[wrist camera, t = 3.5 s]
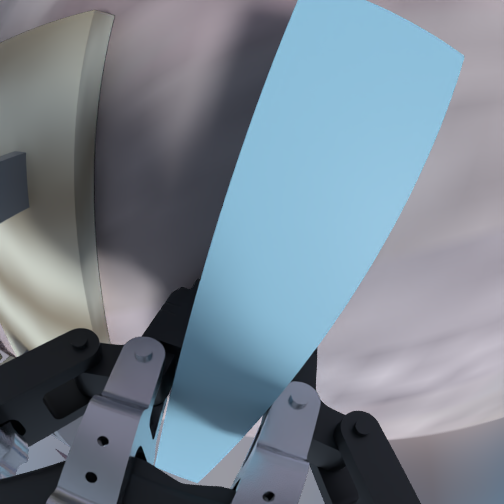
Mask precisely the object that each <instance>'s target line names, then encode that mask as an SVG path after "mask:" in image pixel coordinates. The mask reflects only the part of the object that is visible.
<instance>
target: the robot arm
mask: <svg viewBox="0 0 504 504" xmlns="http://www.w3.org/2000/svg"><path fill="white" fill-rule="evenodd" d="M200 280H201V279H197V281H196V282H195V284H194V285H193V287H192V288H191V290H190V289H187V288H184V287H181V288H180V289H178V290H176V291H174V292H173V293H172V294H171V295H170V296H169V298H168V299H167V301H166V303H165V304H164V305H163V306H162V308H161V310H160V311H159V312H158V314H157V315H156V316H155V318H154V319H153V321H152V322H151V324H150V325H149V327H148V328H147V330H146V331H145V332H144V334H143V335H142V337H135V338H133V339H131V340H129V341H128V342H127V343H126V344H125V345H114V344H107V343H100V341H99V338H98V336H97V335H96V334H95V333H94V332H93V331H91V330H89V329H86V328H76V329H73V330H70V331H68V332H66V333H64V334H62V335H60V336H58V337H56V338H54V339H52V340H50V341H48V342H46V343H44V344H42V345H40V346H38V347H36V348H34V349H32V350H30V351H28V352H26V353H24V354H22V355H20V356H18V357H16V358H14V359H12V360H10V361H8V362H6V363H4V364H2V365H0V504H298V502H299V499H300V496H301V493H302V490H303V487H304V484H305V481H306V477H307V474H308V470H309V465H310V467H311V470H312V473H313V475H314V477H315V480H316V482H317V485H318V487H319V490H320V493H321V495H322V497H323V500H324V502H325V504H421V503H420V501H419V499H418V497H417V495H416V493H415V491H414V489H413V487H412V485H411V484H410V482H409V480H408V478H407V476H406V474H405V472H404V470H403V468H402V467H401V464H400V462H399V460H398V459H397V457H396V455H395V453H394V451H393V449H392V447H391V445H390V444H389V442H388V440H387V438H386V436H385V434H384V432H383V431H382V429H381V427H380V425H379V423H378V422H377V420H376V419H375V418H374V417H373V416H372V415H370V414H369V413H366V412H363V411H353V412H350V413H348V414H347V415H344V414H342V413H340V412H337V411H335V410H333V409H331V408H329V407H328V406H326V405H325V404H324V403H323V402H322V401H321V400H320V397H319V395H318V393H317V392H316V371H317V348H316V349H315V350H314V352H313V353H312V355H311V356H310V357H309V359H308V360H307V361H306V363H305V364H304V365H303V366H302V368H301V369H300V370H299V372H298V373H297V374H296V375H295V377H294V378H293V379H292V381H291V382H290V383H289V384H288V386H287V387H286V388H285V389H284V391H283V392H282V393H281V394H280V395H279V397H278V398H277V399H276V400H275V401H274V403H273V404H272V405H271V406H270V407H269V409H268V410H267V411H266V412H265V413H264V414H263V417H262V421H261V425H260V426H259V428H258V430H257V433H256V435H255V437H254V440H253V442H252V444H251V446H250V449H249V451H248V453H247V455H246V458H245V460H244V462H243V464H242V467H241V469H240V471H239V473H238V474H237V476H236V478H235V480H234V482H233V484H232V486H231V488H230V489H229V488H224V487H219V486H202V485H190V484H183V483H180V482H178V481H176V480H175V479H173V478H171V477H170V476H168V475H167V474H165V473H164V472H162V471H161V470H159V469H158V468H156V467H155V466H153V463H154V457H155V445H156V440H157V436H158V432H159V428H160V425H161V421H162V417H163V413H164V409H165V406H166V402H167V396H168V394H169V392H170V390H171V388H172V386H173V382H174V377H175V373H176V369H177V365H178V361H179V357H180V353H181V350H182V346H183V342H184V338H185V334H186V330H187V327H188V323H189V319H190V315H191V312H192V308H193V305H194V301H195V297H196V294H197V290H198V287H199V283H200ZM83 415H84V416H83ZM81 416H83V418H82V421H81V423H80V426H79V428H78V430H77V433H76V435H75V438H74V441H73V443H72V446H71V448H70V451H69V454H68V456H67V459H66V461H63V462H60V463H57V464H54V465H51V466H48V467H44V468H41V469H38V470H34V471H30V472H27V473H23V474H19V475H16V471H17V469H18V467H19V466H20V465H21V464H23V463H26V462H27V461H28V451H29V449H28V447H29V446H31V445H33V444H35V443H36V442H38V441H40V440H42V439H44V438H45V437H47V436H49V435H51V434H52V433H54V432H56V431H57V430H59V429H61V428H63V427H64V426H66V425H68V424H69V423H71V422H73V421H74V420H76V419H78V418H79V417H81Z"/></svg>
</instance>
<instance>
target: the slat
mask: <svg viewBox="0 0 504 504" xmlns="http://www.w3.org/2000/svg"><path fill="white" fill-rule="evenodd" d="M464 57H465V56H463V55H462V54H461V53H459V52H458V51H456V50H455V49H454V48H452V47H451V46H449V45H448V44H446V43H445V42H443V41H442V40H440V39H439V38H437V37H435V36H434V35H432V34H431V33H429V32H427V31H426V30H424V29H422V28H420V27H419V26H417V25H415V24H413V23H412V22H410V21H408V20H406V19H404V18H402V17H400V16H398V15H396V14H394V13H392V12H390V11H388V10H386V9H384V8H382V7H380V6H378V5H375V4H373V3H371V2H368V1H366V0H298V2H297V4H296V6H295V9H294V11H293V13H292V16H291V18H290V21H289V23H288V26H287V28H286V30H285V33H284V35H283V38H282V40H281V43H280V45H279V48H278V51H277V53H276V56H275V58H274V61H273V63H272V66H271V69H270V71H269V74H268V76H267V79H266V82H265V84H264V87H263V90H262V93H261V95H260V98H259V101H258V103H257V106H256V109H255V112H254V115H253V117H252V120H251V123H250V126H249V129H248V132H247V134H246V137H245V140H244V143H243V146H242V149H241V152H240V155H239V158H238V161H237V164H236V167H235V170H234V173H233V176H232V179H231V182H230V185H229V188H228V191H227V194H226V197H225V200H224V204H223V207H222V210H221V213H220V216H219V219H218V223H217V226H216V229H215V232H214V236H213V239H212V242H211V246H210V249H209V252H208V256H207V259H206V262H205V266H204V269H203V273H202V276H201V280H200V283H199V287H198V290H197V294H196V297H195V301H194V305H193V308H192V312H191V315H190V319H189V323H188V327H187V330H186V334H185V338H184V342H183V346H182V350H181V353H180V357H179V361H178V365H177V369H176V373H175V377H174V382H173V386H172V390H171V394H170V398H169V403H168V407H167V411H166V416H165V420H164V425H163V429H162V434H161V438H160V443H159V448H158V453H157V457H156V462H155V467H156V468H159V469H161V470H164V471H166V472H169V473H171V474H174V475H176V476H179V477H182V478H185V479H187V480H190V481H193V482H196V483H198V482H199V481H200V480H201V479H202V478H203V477H204V476H205V475H206V474H208V473H209V471H211V470H212V468H214V467H215V466H216V465H217V464H218V463H219V462H220V461H221V460H222V459H223V458H224V457H225V456H226V454H228V452H230V451H231V449H232V448H233V447H234V446H235V445H236V444H237V443H238V442H239V441H240V440H241V439H242V438H243V437H244V436H245V435H246V433H247V432H248V431H249V430H250V429H251V428H252V427H253V426H254V425H255V423H256V422H257V421H258V420H259V419H260V418H261V417H262V415H263V414H264V413H265V412H266V411H267V410H268V409H269V407H270V406H271V405H272V404H273V403H274V401H275V400H276V399H277V398H278V397H279V395H280V394H281V393H282V392H283V391H284V389H285V388H286V387H287V386H288V384H289V383H290V382H291V381H292V379H293V378H294V377H295V375H296V374H297V373H298V372H299V370H300V369H301V368H302V366H303V365H304V364H305V363H306V361H307V360H308V359H309V357H310V356H311V355H312V353H313V352H314V350H315V349H316V348H317V346H318V345H319V344H320V342H321V341H322V339H323V338H324V337H325V335H326V334H327V332H328V331H329V330H330V328H331V327H332V325H333V324H334V322H335V321H336V319H337V318H338V317H339V315H340V314H341V312H342V311H343V309H344V308H345V306H346V305H347V303H348V302H349V300H350V298H351V297H352V295H353V294H354V292H355V291H356V289H357V288H358V286H359V284H360V283H361V281H362V280H363V278H364V276H365V275H366V273H367V271H368V270H369V268H370V267H371V265H372V263H373V262H374V260H375V258H376V256H377V255H378V253H379V251H380V250H381V248H382V246H383V244H384V243H385V241H386V239H387V237H388V235H389V234H390V232H391V230H392V228H393V226H394V225H395V223H396V221H397V219H398V217H399V215H400V213H401V211H402V209H403V207H404V206H405V204H406V202H407V200H408V198H409V196H410V194H411V192H412V190H413V188H414V186H415V183H416V181H417V179H418V177H419V175H420V173H421V171H422V169H423V166H424V164H425V162H426V160H427V158H428V155H429V153H430V151H431V148H432V146H433V144H434V141H435V139H436V137H437V134H438V132H439V129H440V127H441V124H442V122H443V119H444V116H445V114H446V111H447V108H448V106H449V103H450V100H451V97H452V95H453V92H454V89H455V86H456V83H457V80H458V77H459V73H460V70H461V67H462V64H463V60H464Z"/></svg>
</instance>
